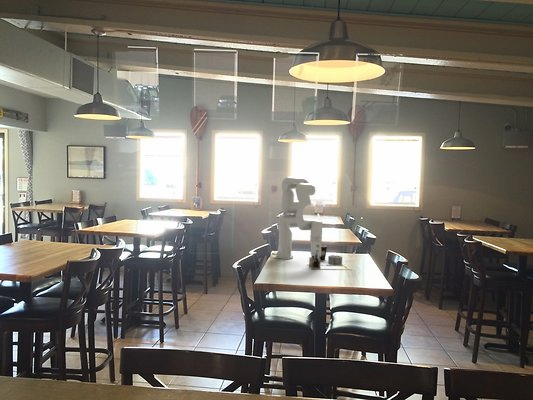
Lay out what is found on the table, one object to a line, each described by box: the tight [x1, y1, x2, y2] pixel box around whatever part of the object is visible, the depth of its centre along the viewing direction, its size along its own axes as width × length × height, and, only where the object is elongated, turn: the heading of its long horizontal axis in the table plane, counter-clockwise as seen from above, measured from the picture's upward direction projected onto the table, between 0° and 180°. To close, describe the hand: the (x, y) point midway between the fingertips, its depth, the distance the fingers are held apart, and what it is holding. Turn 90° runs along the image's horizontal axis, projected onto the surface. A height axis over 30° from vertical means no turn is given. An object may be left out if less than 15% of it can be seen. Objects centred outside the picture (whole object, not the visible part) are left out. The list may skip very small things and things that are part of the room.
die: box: [308, 257, 322, 269], centre depth 290 cm, size 6×6×6 cm
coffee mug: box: [319, 244, 328, 262], centre depth 319 cm, size 12×9×10 cm
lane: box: [310, 264, 352, 271], centre depth 292 cm, size 27×15×1 cm, turn 99°
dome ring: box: [327, 254, 343, 265], centre depth 307 cm, size 9×9×5 cm
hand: (314, 265), depth 290 cm, fingers closed on die, 6 cm apart
